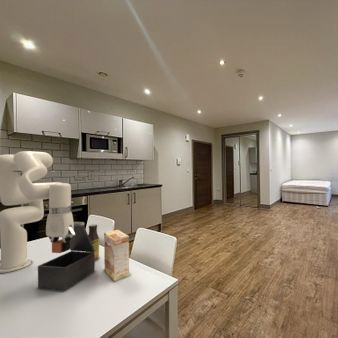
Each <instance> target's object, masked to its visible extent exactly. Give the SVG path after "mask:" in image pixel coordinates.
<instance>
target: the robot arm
mask: <svg viewBox="0 0 338 338" xmlns="http://www.w3.org/2000/svg"><path fill="white" fill-rule="evenodd" d="M53 163H54V159H53V157H52V155H51V154H49V153H48V152H45V151H34V150H32V151H31V150H22V151H18V152H16V153H14V154H10V153H9V154H6V153H5V154H0V203H1V204H2V205H3V206H16V207H11V208H10V207H8V208H5V209H3V210H1V211H0V274H7V273H11V272H15V271H18V270H22V269H24V268H26V267H29V265H31V264H32V260H31V259H30V258H28V232H27V230H26V229H25V228H24V227H22V225H26V224H30V223H36V222H39V221H40V220H43V218H44V215H45V211H44V210H45V209H44V200H48V209H49V210H48V211H49V213H48V214H47V218H46V222H45V224H46V225H45V235H46V236H47V237H48V239H49V240H50V243H51V244H52V243H53V242H56V241H58V240H60V238H61V239H62V240H63V243H62V253H65V252H68V251H69V250H70V241H71V239H72V238H73V237H74V236H75V235H76V234H75V233H74V223H73V222H74V216H73V213H72V186H71V184H70V183H68V182H60V181H54V182H53V181H52V182H51V181H50V182H36V181H38V180H41V179H43V178H44V177H45V176H47V174H48V168H50V167H52V165H53ZM16 171H21V173H22V175H20V174H18V173H17V172H16ZM33 182H35V183H33ZM25 204H26V205H25ZM27 204H28V205H27ZM18 205H24V206H18ZM66 236H67V238H66Z"/></svg>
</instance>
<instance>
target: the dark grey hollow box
mask: <svg viewBox="0 0 338 338" xmlns="http://www.w3.org/2000/svg"><path fill="white" fill-rule="evenodd" d="M95 262H96V260H95V253H94V252H84V251H71V250H70V251H67V252H66V253H64V254H62V255H59V256H57V257H55V258H52V259H51V260H48V261H46V262H43V263H42V264H39V265H38V266H37V289H39V290H48V291H49V290H50V291H59V292H66V291H68V290H69V289H71V288H72V287H74V286H75V285H77V284H78V283H80V282H81V281H83V280H84V279H86V278H88V277H90V276H91V275H92V274H94V273H95V271H96V269H95V267H96V266H95V265H96V264H95Z"/></svg>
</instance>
